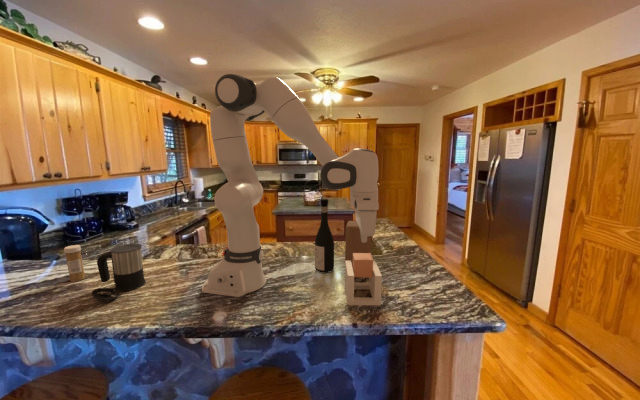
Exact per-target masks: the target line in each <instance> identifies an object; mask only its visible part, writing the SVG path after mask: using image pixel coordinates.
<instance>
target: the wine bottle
mask: <svg viewBox="0 0 640 400" xmlns="http://www.w3.org/2000/svg"><path fill="white" fill-rule="evenodd" d="M328 205H329V199H328V198H321V199H320V225H319V228H318V230H317V233H316V236H315V240H314V269H315V271H316V272H319V273H322V274H328V273H331V272H332V271H334V269H335V238H334V237H333V234H332V231H331V229H330V226H329V217H328V216H329V213H328V212H329V210H328V207H329V206H328Z"/></svg>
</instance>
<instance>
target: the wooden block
mask: <svg viewBox="0 0 640 400" xmlns="http://www.w3.org/2000/svg"><path fill="white" fill-rule="evenodd" d="M344 240H345V244H344V245H345V248H344V249H345V250H344V253H345V254H344V256H345V257H344V260H345V261H351V263H352V266H353V253H370V254H371V255H372V253H371V252H372V236H367V242H365V243H363V242H362V241H361V239H360V229H359V227H358V224H357V222H356V220H348V222H347V224H346V226H345V239H344ZM345 261H344V262H345Z"/></svg>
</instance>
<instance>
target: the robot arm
mask: <svg viewBox="0 0 640 400" xmlns="http://www.w3.org/2000/svg"><path fill="white" fill-rule="evenodd" d="M214 87H215V88H214V95H215V98H216V100H217V102H218V104H219V106H216V107H214V108H213V109H211V111H210V114H209V115H210V116H209V118H210V119H209V122H210V123H209V124H210V133H211V139H212V140H211V141H212V145H213V148H214V153H215V157H216V162H217V165H218V167H219V168H220V169H221V170H222V172H223V174H224V176H225V178H226V180H227V182H225V183H224V184H222V185H221V186H220V187H219V188H218V189H217V190H216V192H215V194H214V205H215V207H216V209H217V210H218V211H219V212H220V213H221V215H222V217H223V220H224V224H225V226H226V232H227V233H226V234H227V246H226V247H225V249H224V250H223V252H222V253H221V257H222V258H223V259H221V260H219V262H217V263H216V264H215V265H214V266H212V268H211V269H210V270H209V272H208V277H207V279H206V280H205V281H204V282H203V284H202V285H201V293H203V294H211V295H219V296H220V295H221V296H225V297H236V298H240V297H243V296H245V295H247V294H248V293H253V292H255V291H258V290H260V289H261V288H263V287H264V286H265V285H266V283H267V280H266V276H265V274H264V270H263V265H262V261H263V260H262V259H263V252H262V246H261V239H260V238H261V237H260V226H259V224H258V222H257V219H256V216H255V215H256V214H255V212H254V207H255V206H257V205H258V204H259V202H261V200H262V198H263V195H264V187H263V186H262V183H261V182H260V181H259V177H258V175H257V173H256V170H255V167H254V165H253V162H252V157H251V154H250V149H249V145H248V139H247V134H246V128H245V122H246V121H247V122H251V121H252V120H253V119H256V118H258V117H259V116H261V115H263V114H264V113H265V114H267V116H268V117H269V118H270V119H271V121H272V122H273V123H274V124H275V126H276V127H277V128H278V129H279V130H280V131H281V132H282V133H284V135H286V136H287V137H288V138H290V139H292V140H294V141H296V142H298V143H301V144H302V145H303V146H305V147H306V148H307V149H308V150H309V151H310V153H312V154H313V156H314V157H315V158H316V159H317V160H318V162H319V163H320V164H321V166H322V168H321V169H320V175H319V177H320V181H321V183H322V184H323V185H324V186H325V188H327V189H329V190H332V191H338V190H343V189H347V188H349V189H350V190H349V192H350V195H349V200H350V201H349V202H350V203H349V204H350V206H351V207H353V210H354V211H355V214H354V217H355V219H354V220H355V221H356V222H357V224H358V227H359V229H360V239H361V241H362V242H363V243H365V242H367V236H371V237H373V236H374V235H375V233H376V226H377V225H376V224H377V211H379V209H380V205H379V187H378V181H379V176H380V175H379V170H380V169H379V168H380V167H379V159H378V155H377V153H376V152H375V151H374V150H371V149H366V148H359V147H356V148H352V150H350V151H349V152H347V153H346V154H344V155H342V156H339V154H337V153H336V152H335V150H334V149H333V148H332V147H331V146H330V145H329V143H328V142H327V141H326V140H325V138H324V137H323V136H322V134H321V133H320V131H319V129H318V128H317V126H316V123H315V121H314V120H313V118H312V116H311V114H310V113H309V111H308V108H307V107H306V105H304V103H303V101H302V100H301V99H300V97H299V96H298V95H297V94H296V93H295V91H293V89H291V88H290V86H289V85H288V84H286V83H285V82H284V81H283V80H282V79H280V77H276V76H272V77H268V78H266V79H264V80H263V81H262V82H260V83H259V84H258V83H256V82H255V81H254V80H253V79H249V78H247V77H244V76H243V75H241V74H235V73H227V74H223V75H222V76H221V77H219V78H218V80H217V81H216V83H215V86H214Z"/></svg>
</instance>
